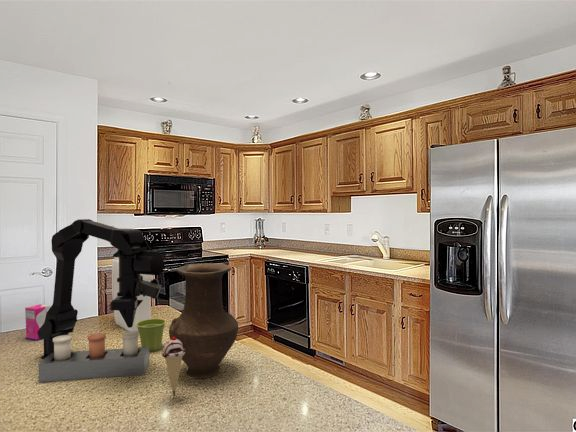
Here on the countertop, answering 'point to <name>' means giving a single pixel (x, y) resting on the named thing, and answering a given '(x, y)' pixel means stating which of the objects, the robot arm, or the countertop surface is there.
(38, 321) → the supplement box
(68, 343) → the ivory plug near
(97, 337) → the rust plug
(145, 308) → the white plastic jug
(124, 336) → the ivory plug far
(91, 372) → the socket block
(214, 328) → the vase
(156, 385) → the countertop surface
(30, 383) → the countertop surface
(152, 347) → the plant pot
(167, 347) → the ice cream cone
